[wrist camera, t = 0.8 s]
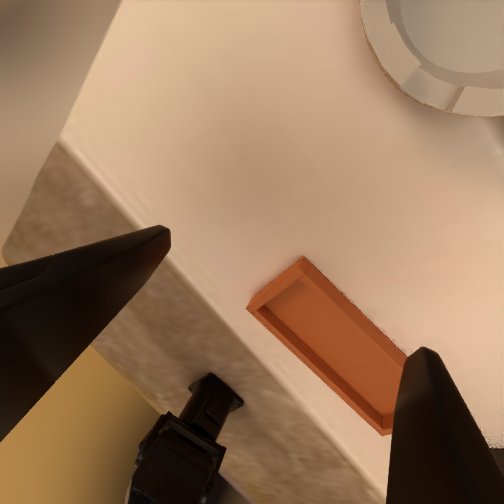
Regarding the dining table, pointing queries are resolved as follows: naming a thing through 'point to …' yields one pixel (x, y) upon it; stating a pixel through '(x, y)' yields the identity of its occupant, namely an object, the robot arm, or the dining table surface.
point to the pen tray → (333, 341)
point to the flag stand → (441, 51)
